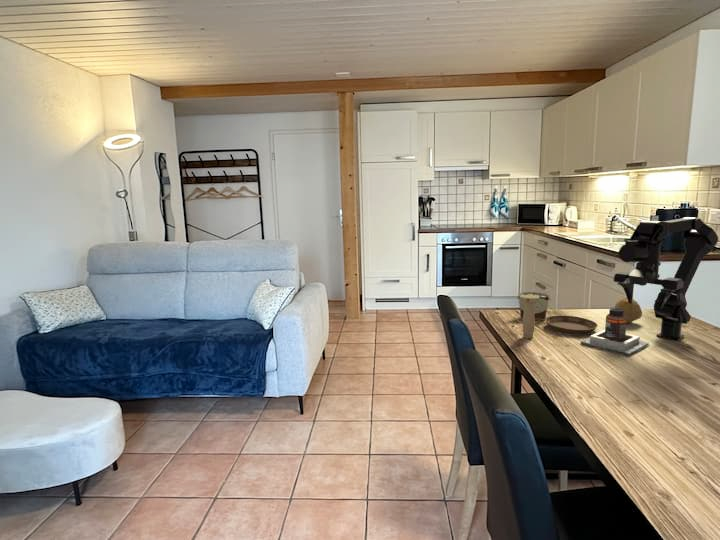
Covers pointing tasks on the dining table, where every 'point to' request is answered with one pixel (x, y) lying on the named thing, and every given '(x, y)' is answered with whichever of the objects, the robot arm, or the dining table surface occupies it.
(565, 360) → the dining table surface
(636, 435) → the dining table surface
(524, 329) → the handle
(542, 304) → the food container
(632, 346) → the grey square tray
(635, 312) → the natural sponge
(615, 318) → the supplement bottle
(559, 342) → the dining table surface
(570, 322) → the plant saucer
